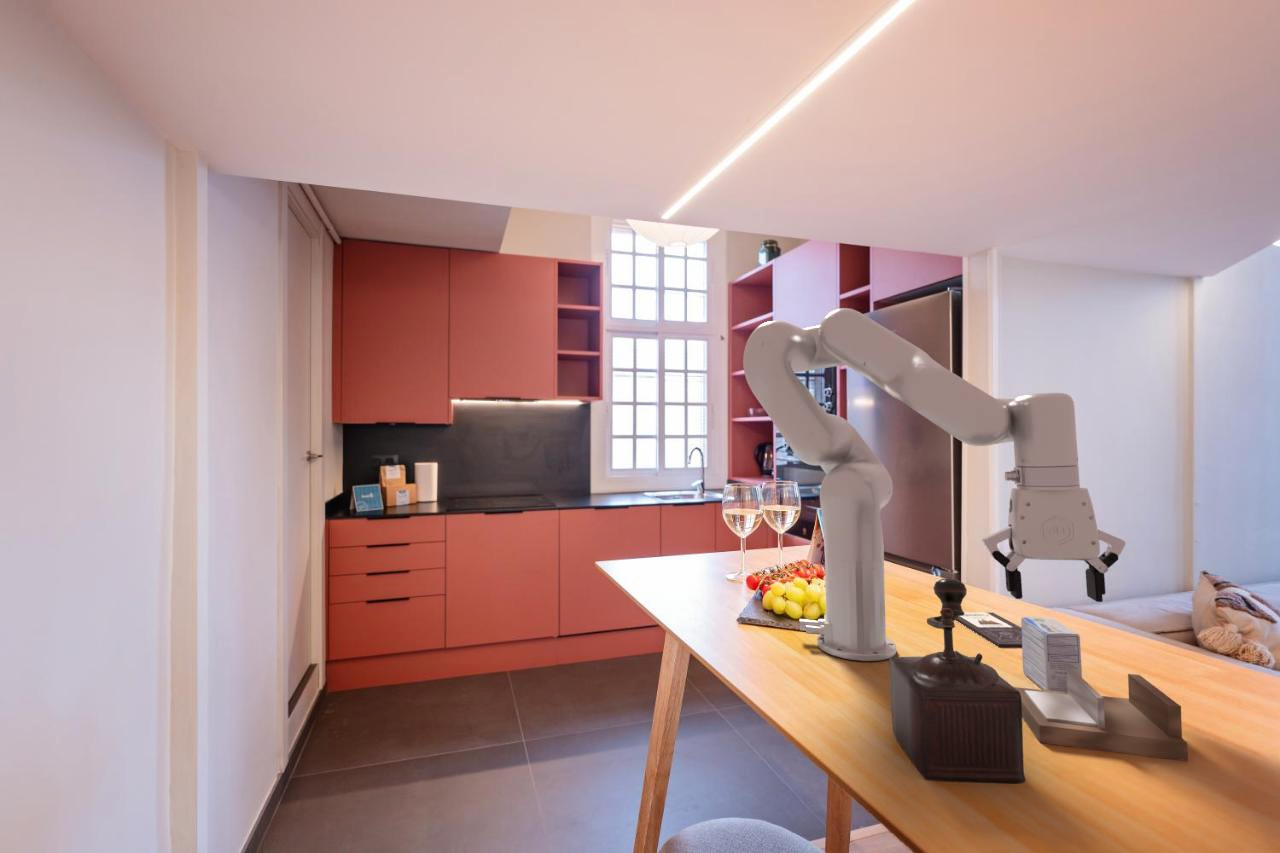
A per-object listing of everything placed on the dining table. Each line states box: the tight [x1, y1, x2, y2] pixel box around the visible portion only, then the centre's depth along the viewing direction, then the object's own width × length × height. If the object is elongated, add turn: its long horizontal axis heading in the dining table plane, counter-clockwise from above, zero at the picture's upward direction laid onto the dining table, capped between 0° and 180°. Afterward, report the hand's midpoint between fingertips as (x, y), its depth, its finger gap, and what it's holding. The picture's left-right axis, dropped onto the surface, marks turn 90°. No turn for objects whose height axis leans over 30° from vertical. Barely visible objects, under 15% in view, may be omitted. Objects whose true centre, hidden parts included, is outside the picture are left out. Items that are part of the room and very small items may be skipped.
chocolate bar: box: [955, 612, 1022, 648], centre depth 108 cm, size 9×1×18 cm
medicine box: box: [1020, 616, 1083, 692], centre depth 84 cm, size 8×4×9 cm, turn 168°
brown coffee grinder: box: [888, 577, 1026, 784], centre depth 68 cm, size 16×11×18 cm
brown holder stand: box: [1013, 668, 1189, 762], centre depth 71 cm, size 14×11×6 cm
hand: (1054, 598), depth 83 cm, fingers open, 9 cm apart
